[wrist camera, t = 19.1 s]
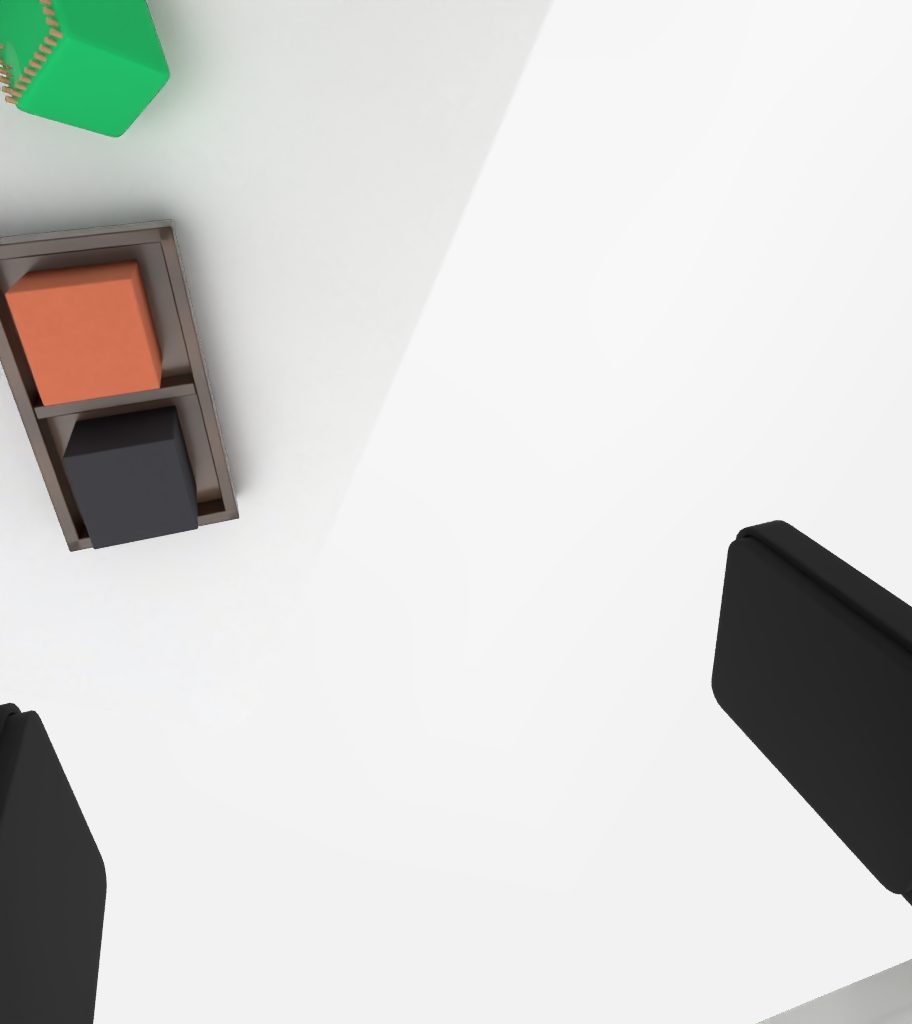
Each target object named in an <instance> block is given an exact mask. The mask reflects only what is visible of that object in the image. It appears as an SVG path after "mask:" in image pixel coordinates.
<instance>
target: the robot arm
mask: <svg viewBox="0 0 912 1024" xmlns="http://www.w3.org/2000/svg"><path fill="white" fill-rule="evenodd" d="M712 690H713V693H714V696H715V698H716V700H717V702H718V704H719V705H720V706H721V708H722V709H723V710H724V711H725V712H726V713H727V714H728V715H729V716H730V718H731V719H732V720H733V721H734V722H735V723H736V724H737V725H738V726H739V727H740V729H741V730H742V731H743V732H744V733H745V734H746V735H747V736H748V737H749V739H750V740H752V742H753V743H754V744H755V745H756V746H757V747H758V748H759V750H761V752H762V753H763V754H764V755H765V756H766V757H767V758H768V759H769V761H770V762H771V763H772V764H773V765H774V766H775V767H776V768H777V769H778V771H779V772H780V773H781V774H782V775H783V776H784V777H785V778H786V779H787V780H788V782H789V783H790V784H791V785H792V786H793V787H794V788H795V789H796V790H797V791H798V792H799V794H800V795H801V796H802V797H803V798H804V799H805V800H806V801H807V803H808V804H809V805H810V806H811V807H812V808H813V809H814V810H815V811H816V812H817V814H819V816H820V817H821V818H822V819H823V820H824V821H825V822H826V823H827V824H828V826H829V827H830V828H831V829H832V830H833V831H834V832H835V833H836V835H837V836H838V837H839V838H840V839H841V840H842V841H843V842H844V843H845V844H846V846H847V847H848V848H849V849H850V850H851V851H852V852H853V853H854V854H855V855H856V856H857V858H858V859H859V860H860V861H861V862H862V863H863V864H864V865H865V866H866V868H867V869H868V870H869V871H870V872H871V873H872V874H873V875H874V876H875V877H876V879H877V880H878V881H879V882H880V883H881V884H882V885H883V886H884V887H885V888H886V889H888V890H889V891H891V892H893V893H895V894H901V895H902V896H903V897H904V898H905V899H906V900H907V901H908V902H909V903H910V904H911V906H912V607H911V606H910V605H908V604H907V603H905V602H904V601H902V600H901V599H899V598H898V597H896V596H895V595H893V594H892V593H890V592H889V591H887V590H886V589H885V588H883V587H881V586H880V585H879V584H877V583H876V582H874V581H873V580H871V579H870V578H868V577H867V576H865V575H864V574H862V573H861V572H859V571H858V570H856V569H855V568H853V567H852V566H850V565H849V564H848V563H846V562H845V561H843V560H842V559H840V558H838V557H837V556H836V555H834V554H833V553H831V552H830V551H828V550H827V549H825V548H824V547H822V546H821V545H819V544H818V543H817V542H815V541H814V540H812V539H811V538H809V537H808V536H806V535H804V534H803V533H802V532H800V531H799V530H797V529H796V528H794V527H793V526H791V525H790V524H788V523H786V522H784V521H780V520H776V521H772V522H767V523H763V524H759V525H755V526H750V527H747V528H744V529H742V530H740V532H739V533H738V534H737V537H736V540H735V541H733V542H732V543H731V544H730V546H729V549H728V555H727V563H726V571H725V579H724V586H723V595H722V603H721V610H720V618H719V626H718V633H717V641H716V649H715V657H714V665H713V673H712ZM106 888H107V883H106V872H105V866H104V862H103V859H102V857H101V854H100V852H99V850H98V848H97V845H96V843H95V841H94V839H93V836H92V834H91V832H90V830H89V827H88V825H87V823H86V820H85V818H84V816H83V814H82V811H81V809H80V807H79V805H78V802H77V800H76V798H75V796H74V793H73V791H72V789H71V786H70V784H69V782H68V780H67V777H66V775H65V773H64V771H63V769H62V766H61V764H60V762H59V759H58V757H57V755H56V753H55V750H54V748H53V746H52V743H51V741H50V739H49V737H48V734H47V732H46V730H45V728H44V725H43V723H42V721H41V719H40V717H39V715H38V714H37V713H36V712H35V711H28V712H23V713H21V711H20V709H19V708H18V707H17V706H16V705H15V704H13V703H7V704H3V705H0V1024H93V1019H94V1010H95V1000H96V990H97V979H98V969H99V959H100V950H101V940H102V929H103V920H104V910H105V900H106ZM757 1024H912V959H911V960H909V961H906V962H904V963H902V964H899V965H897V966H894V967H892V968H889V969H887V970H884V971H882V972H880V973H877V974H875V975H872V976H870V977H867V978H865V979H863V980H860V981H858V982H855V983H853V984H851V985H848V986H846V987H843V988H841V989H839V990H836V991H834V992H831V993H829V994H827V995H824V996H821V997H819V998H817V999H814V1000H812V1001H809V1002H807V1003H805V1004H802V1005H800V1006H797V1007H795V1008H793V1009H790V1010H788V1011H785V1012H783V1013H781V1014H778V1015H776V1016H773V1017H771V1018H769V1019H766V1020H764V1021H762V1022H759V1023H757Z"/></svg>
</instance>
